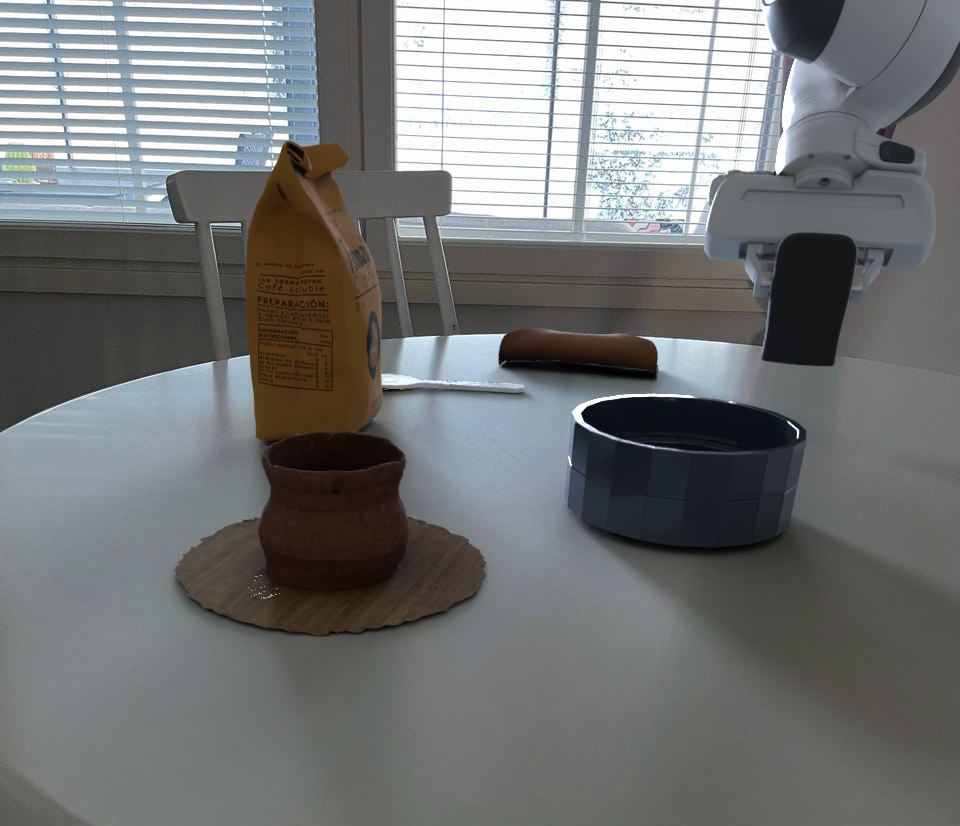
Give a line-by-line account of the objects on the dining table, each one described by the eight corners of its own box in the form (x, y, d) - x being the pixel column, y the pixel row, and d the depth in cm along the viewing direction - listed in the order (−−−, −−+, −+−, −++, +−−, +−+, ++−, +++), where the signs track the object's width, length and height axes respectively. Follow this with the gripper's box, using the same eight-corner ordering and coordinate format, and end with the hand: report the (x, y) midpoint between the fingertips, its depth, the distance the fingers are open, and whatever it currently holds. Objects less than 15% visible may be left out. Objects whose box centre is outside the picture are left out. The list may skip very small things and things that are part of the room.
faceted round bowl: (754, 483, 72) (770, 398, 69) (818, 560, 58) (840, 458, 55) (557, 476, 72) (564, 390, 68) (575, 551, 58) (584, 449, 55)
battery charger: (834, 362, 89) (860, 231, 84) (836, 369, 86) (863, 234, 81) (759, 355, 91) (780, 227, 86) (757, 363, 88) (779, 230, 82)
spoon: (523, 396, 94) (523, 391, 94) (345, 387, 94) (345, 381, 94) (524, 384, 98) (524, 379, 98) (354, 376, 99) (354, 370, 99)
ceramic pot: (550, 574, 55) (559, 457, 52) (296, 671, 44) (288, 530, 40) (360, 494, 66) (358, 394, 63) (120, 556, 55) (102, 437, 52)
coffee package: (401, 418, 85) (400, 144, 75) (352, 456, 74) (344, 142, 64) (298, 408, 87) (284, 139, 76) (237, 443, 76) (210, 136, 66)
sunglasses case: (660, 361, 110) (665, 315, 105) (653, 404, 107) (658, 358, 101) (510, 350, 113) (507, 304, 108) (499, 391, 110) (495, 345, 104)
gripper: (714, 144, 88) (695, 266, 84) (946, 151, 84) (937, 279, 80) (708, 195, 94) (691, 310, 90) (925, 203, 90) (916, 325, 86)
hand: (809, 296), depth 85 cm, fingers closed on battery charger, 7 cm apart
